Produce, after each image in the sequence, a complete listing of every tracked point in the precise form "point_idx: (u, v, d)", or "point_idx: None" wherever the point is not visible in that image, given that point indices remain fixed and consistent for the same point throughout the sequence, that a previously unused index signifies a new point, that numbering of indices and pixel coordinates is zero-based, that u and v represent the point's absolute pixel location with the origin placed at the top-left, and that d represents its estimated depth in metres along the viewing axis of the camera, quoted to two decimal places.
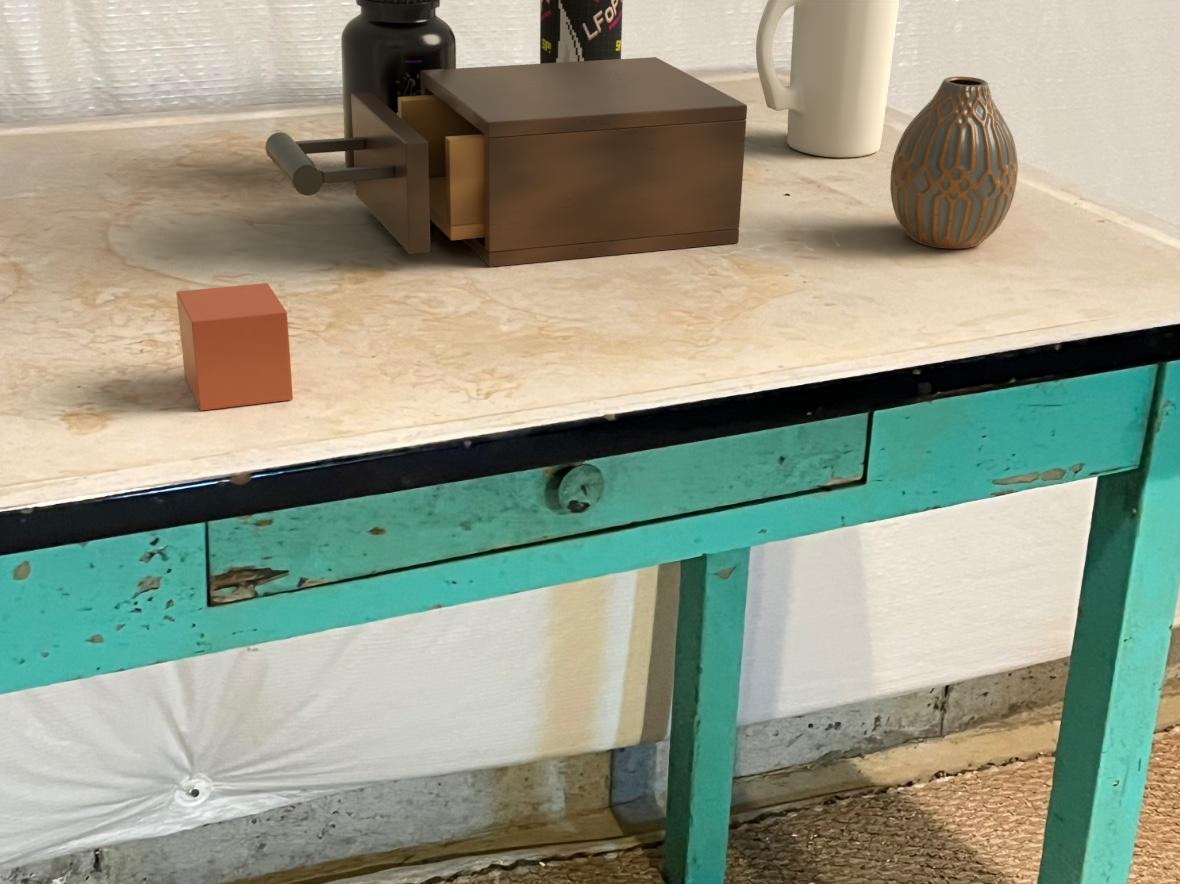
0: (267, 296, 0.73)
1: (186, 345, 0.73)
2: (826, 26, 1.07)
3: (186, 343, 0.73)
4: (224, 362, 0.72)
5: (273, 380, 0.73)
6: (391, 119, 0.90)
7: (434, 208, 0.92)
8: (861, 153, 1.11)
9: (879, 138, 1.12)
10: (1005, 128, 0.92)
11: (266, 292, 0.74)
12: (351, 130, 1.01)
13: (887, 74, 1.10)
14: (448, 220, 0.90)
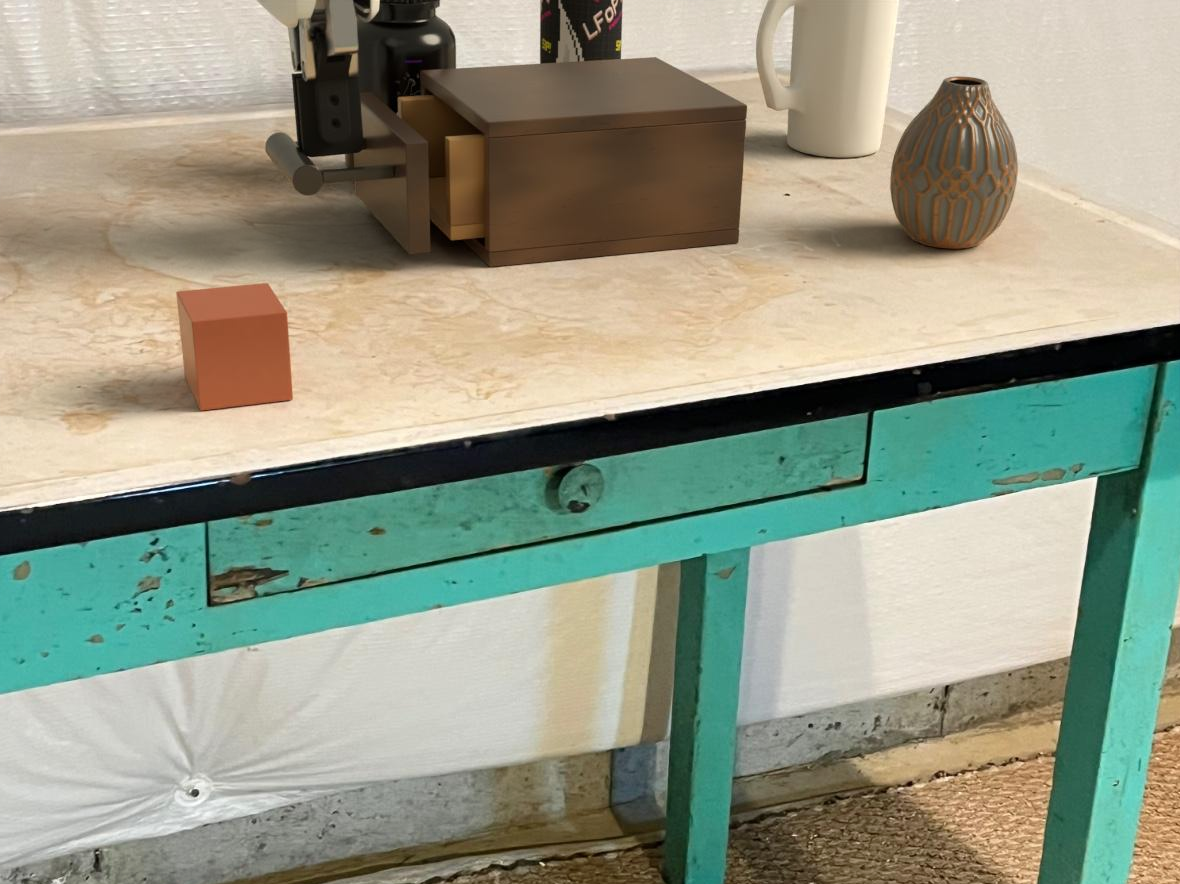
0: (267, 296, 0.73)
1: (186, 345, 0.73)
2: (826, 26, 1.07)
3: (186, 343, 0.73)
4: (224, 362, 0.72)
5: (273, 380, 0.73)
6: (391, 119, 0.90)
7: (434, 208, 0.92)
8: (861, 153, 1.11)
9: (879, 138, 1.12)
10: (1005, 128, 0.92)
11: (266, 292, 0.74)
12: None
13: (887, 74, 1.10)
14: (448, 220, 0.90)
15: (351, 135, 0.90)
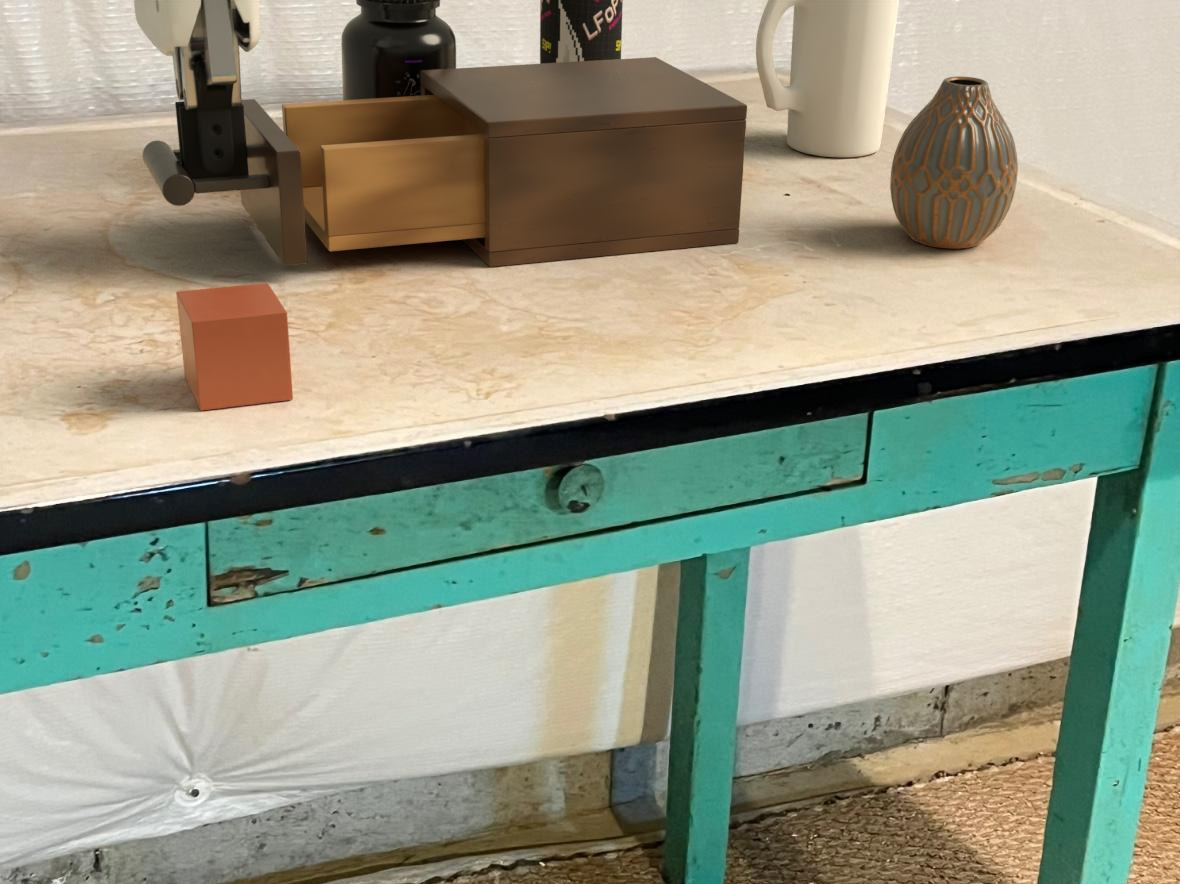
0: (267, 296, 0.73)
1: (186, 345, 0.73)
2: (826, 26, 1.07)
3: (186, 343, 0.73)
4: (224, 362, 0.72)
5: (273, 380, 0.73)
6: (268, 127, 0.88)
7: (315, 218, 0.90)
8: (861, 153, 1.11)
9: (879, 138, 1.12)
10: (1005, 128, 0.92)
11: (266, 292, 0.74)
12: None
13: (887, 74, 1.10)
14: (326, 231, 0.87)
15: (235, 165, 0.88)
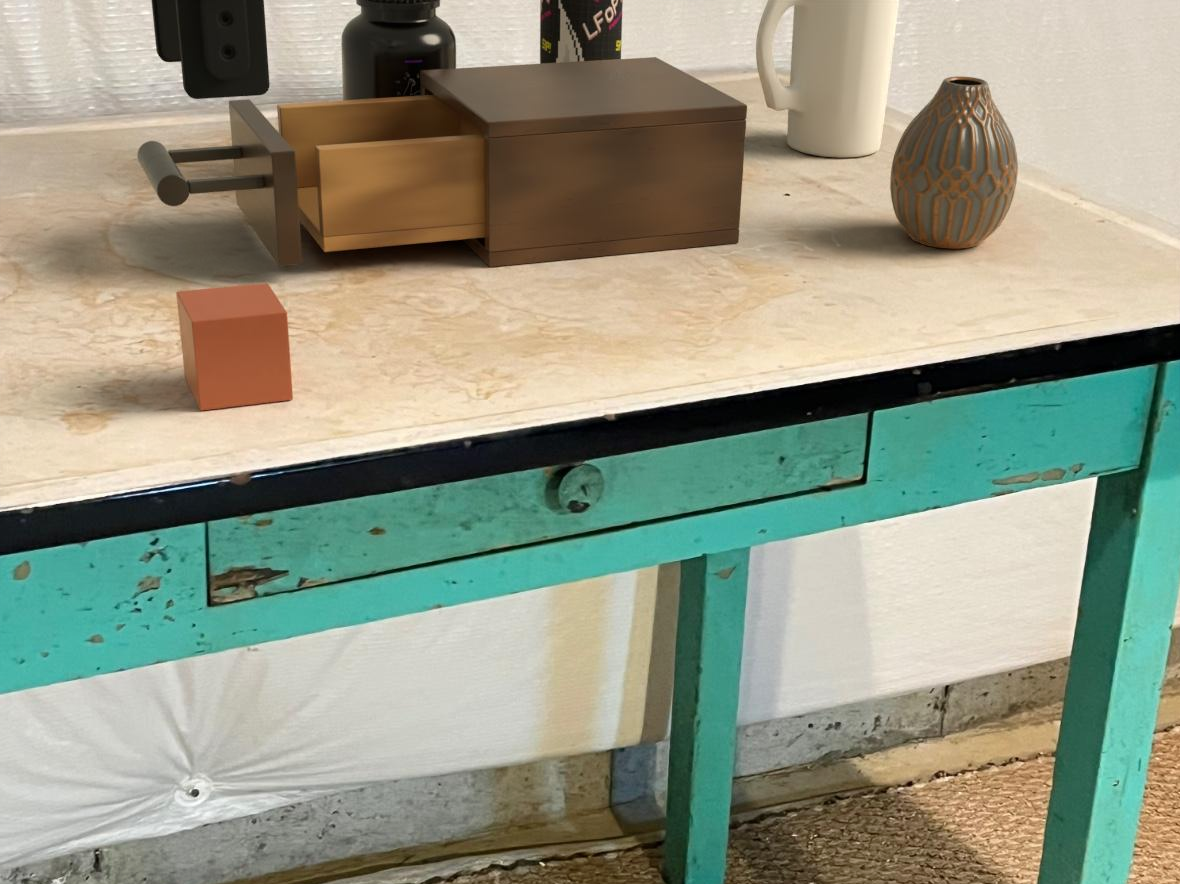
0: (267, 296, 0.73)
1: (186, 345, 0.73)
2: (826, 26, 1.07)
3: (186, 343, 0.73)
4: (224, 362, 0.72)
5: (273, 380, 0.73)
6: (263, 127, 0.88)
7: (311, 218, 0.90)
8: (861, 153, 1.11)
9: (879, 138, 1.12)
10: (1005, 128, 0.92)
11: (266, 292, 0.74)
12: None
13: (887, 74, 1.10)
14: (321, 231, 0.87)
15: (252, 70, 0.65)
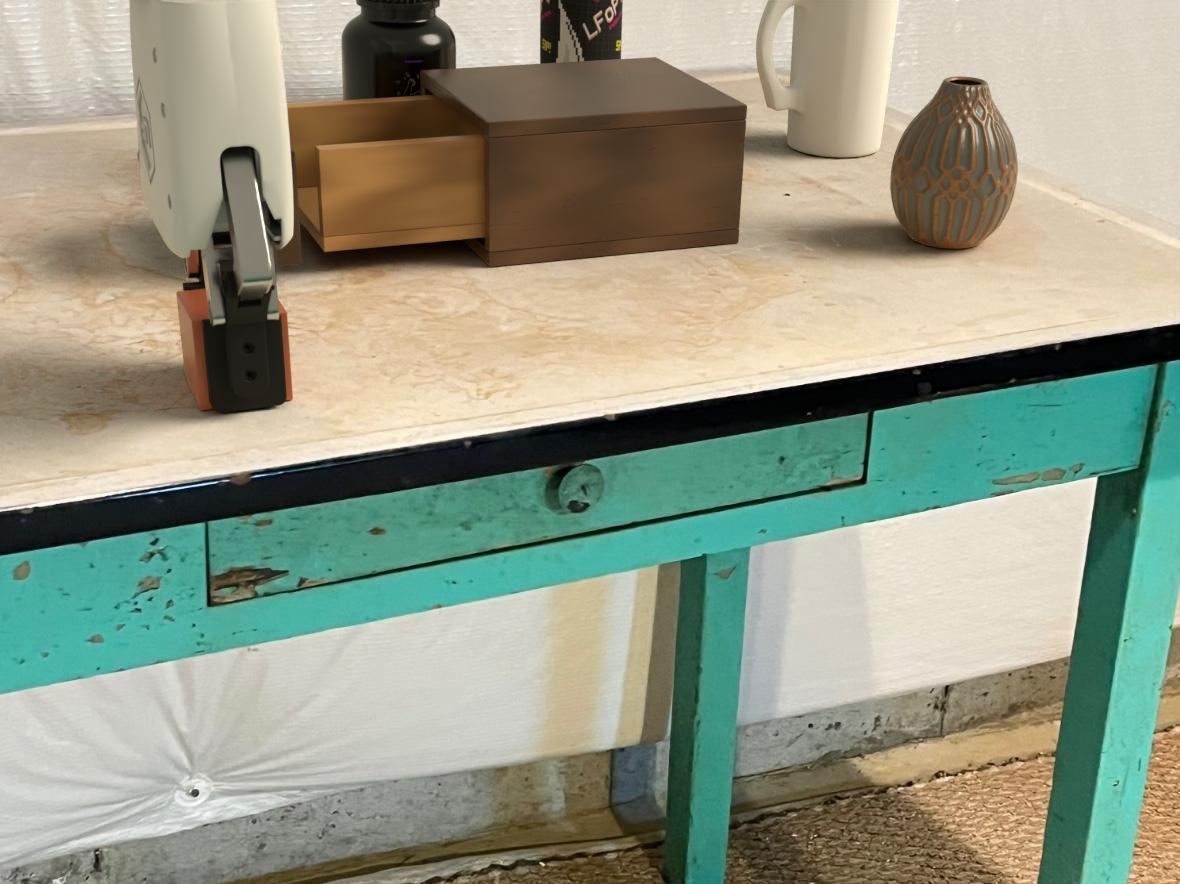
0: None
1: (186, 345, 0.73)
2: (826, 26, 1.07)
3: (186, 343, 0.73)
4: None
5: None
6: None
7: (311, 218, 0.90)
8: (861, 153, 1.11)
9: (879, 138, 1.12)
10: (1005, 128, 0.92)
11: None
12: None
13: (887, 74, 1.10)
14: (321, 231, 0.87)
15: (271, 385, 0.72)
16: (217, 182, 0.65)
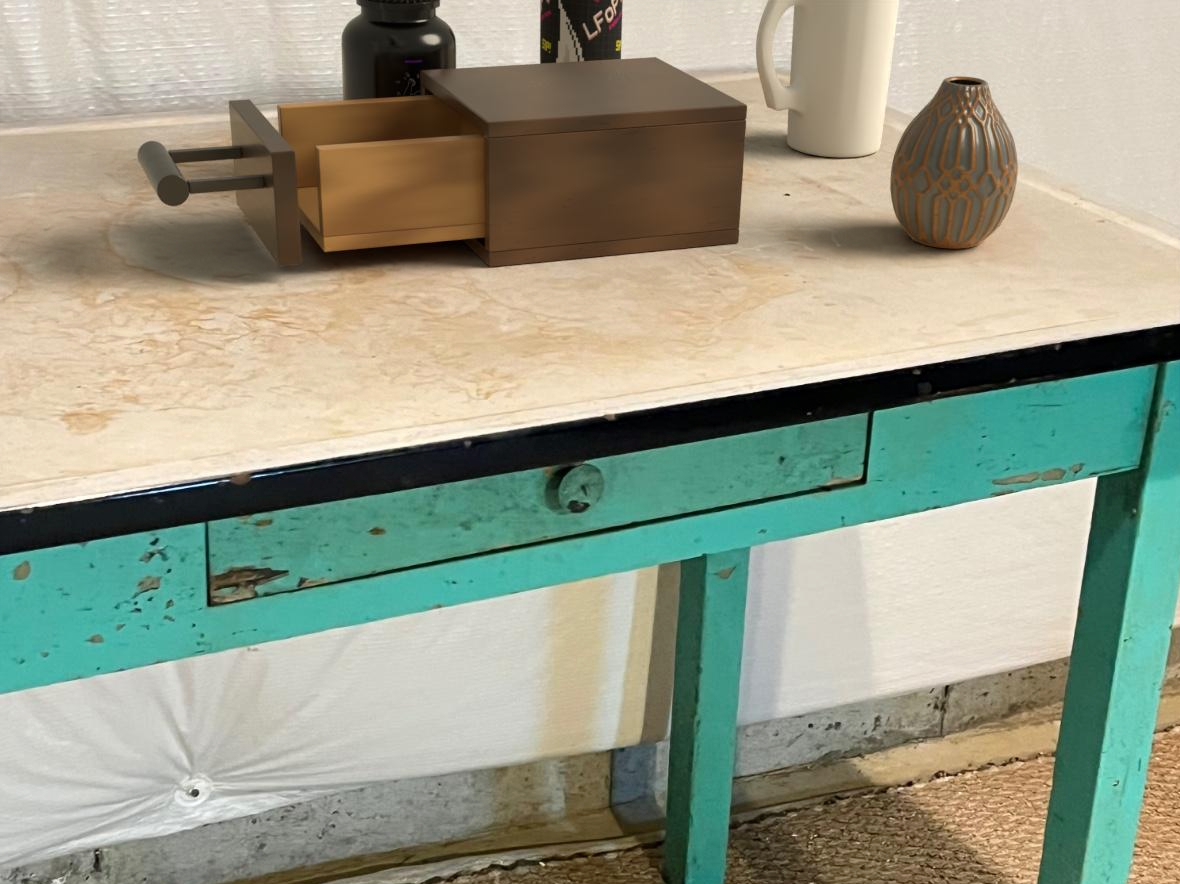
0: None
1: None
2: (826, 26, 1.07)
3: None
4: None
5: None
6: (263, 127, 0.88)
7: (311, 218, 0.90)
8: (861, 153, 1.11)
9: (879, 138, 1.12)
10: (1005, 128, 0.92)
11: None
12: None
13: (887, 74, 1.10)
14: (321, 231, 0.87)
15: None
16: None
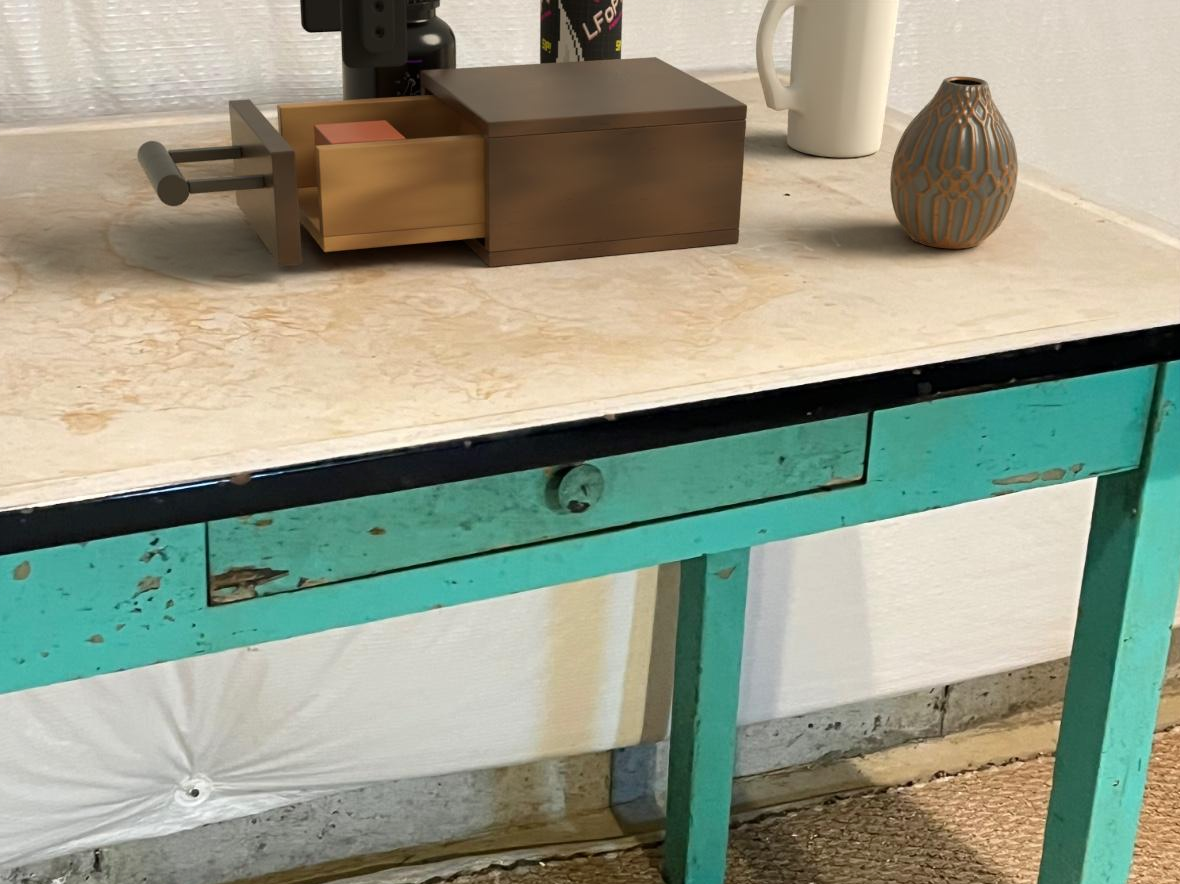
0: (387, 128, 0.91)
1: None
2: (826, 26, 1.07)
3: None
4: None
5: None
6: (263, 127, 0.88)
7: (311, 218, 0.90)
8: (861, 153, 1.11)
9: (879, 138, 1.12)
10: (1005, 128, 0.92)
11: (386, 126, 0.91)
12: None
13: (887, 74, 1.10)
14: (321, 231, 0.87)
15: (395, 46, 0.84)
16: None
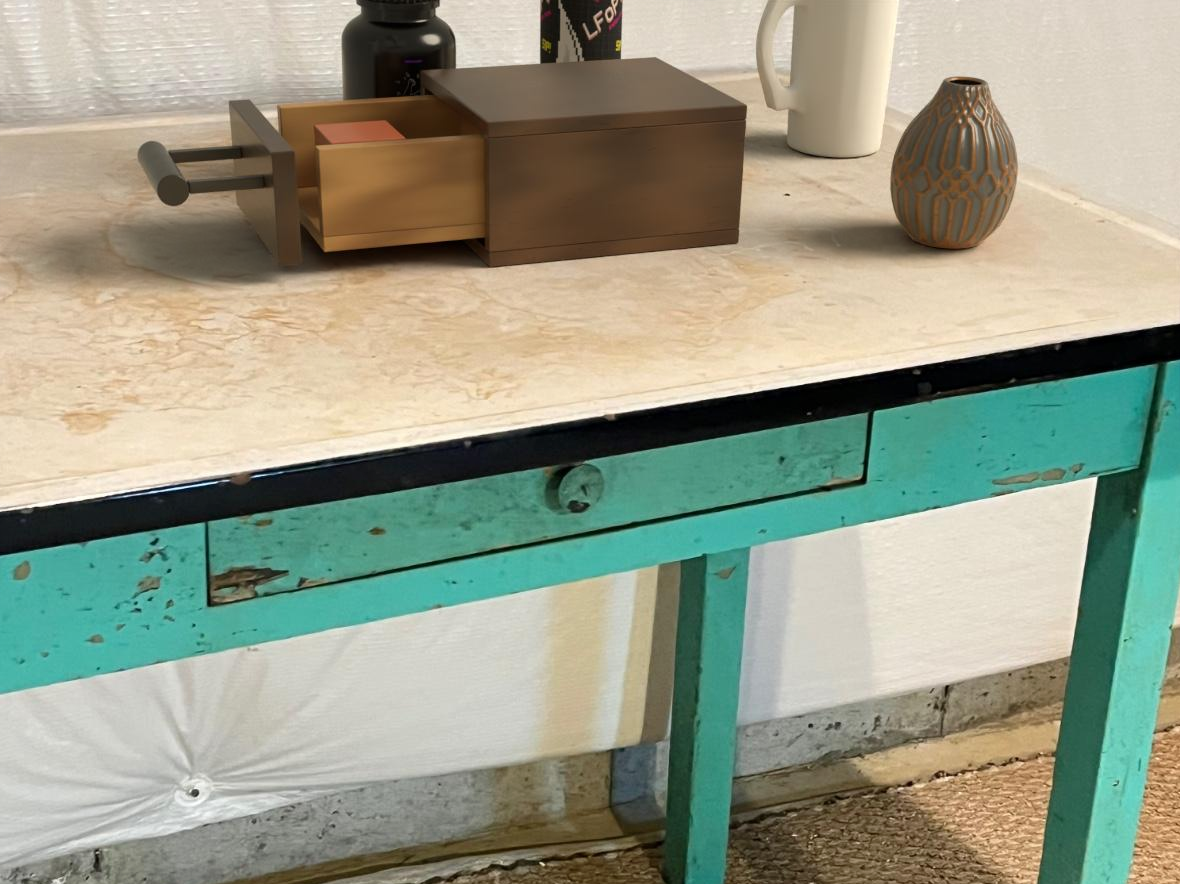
0: (387, 128, 0.91)
1: None
2: (826, 26, 1.07)
3: None
4: None
5: None
6: (263, 127, 0.88)
7: (311, 218, 0.90)
8: (861, 153, 1.11)
9: (879, 138, 1.12)
10: (1005, 128, 0.92)
11: (386, 126, 0.91)
12: None
13: (887, 74, 1.10)
14: (321, 231, 0.87)
15: None
16: None
